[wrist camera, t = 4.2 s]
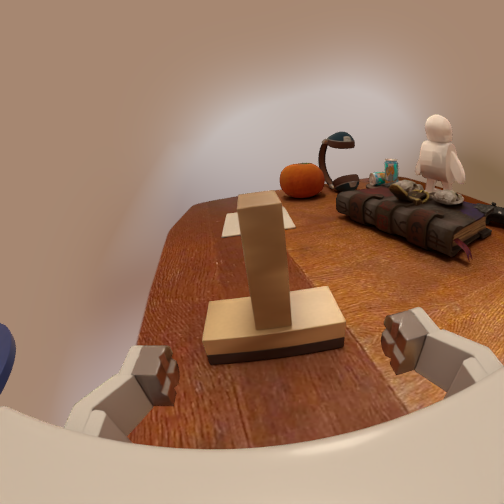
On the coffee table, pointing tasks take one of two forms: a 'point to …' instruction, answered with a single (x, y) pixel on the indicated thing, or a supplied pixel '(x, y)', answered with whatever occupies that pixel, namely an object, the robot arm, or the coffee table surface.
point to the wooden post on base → (269, 298)
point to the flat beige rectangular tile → (234, 230)
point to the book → (418, 215)
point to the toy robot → (439, 156)
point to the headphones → (334, 141)
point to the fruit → (302, 180)
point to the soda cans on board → (384, 174)
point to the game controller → (495, 215)
